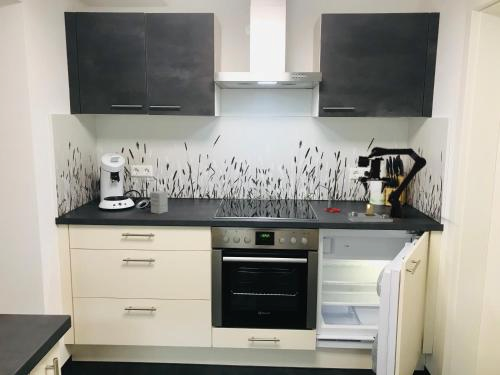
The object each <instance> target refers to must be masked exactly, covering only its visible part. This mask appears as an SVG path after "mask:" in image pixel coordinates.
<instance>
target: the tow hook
mask: <svg viewBox="0 0 500 375" xmlns="http://www.w3.org/2000/svg"><path fill="white" fill-rule="evenodd" d="M331 200H332V191H330V190H329V194H328V203H327V207H326V208H324V211H325V212H329V213H340V211H341V210H340V209H338V208H333V207H331V205H332V204H331V202H332V201H331Z"/></svg>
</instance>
